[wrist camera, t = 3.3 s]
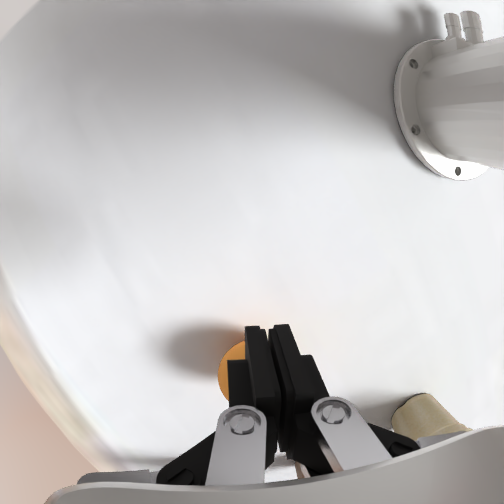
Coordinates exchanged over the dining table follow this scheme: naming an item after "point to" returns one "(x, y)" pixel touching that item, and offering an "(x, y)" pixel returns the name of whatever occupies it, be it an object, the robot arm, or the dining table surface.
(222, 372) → the ball
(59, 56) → the dining table surface
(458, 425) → the flower pot
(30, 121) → the dining table surface
